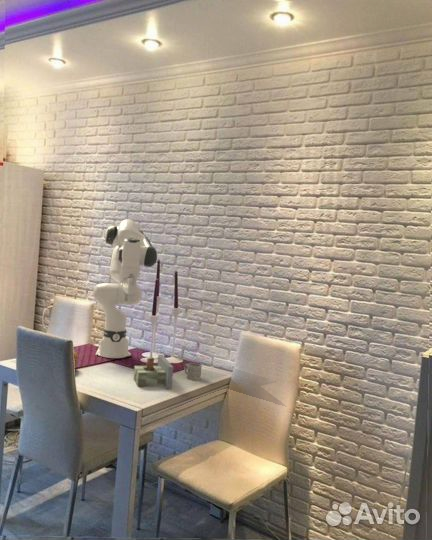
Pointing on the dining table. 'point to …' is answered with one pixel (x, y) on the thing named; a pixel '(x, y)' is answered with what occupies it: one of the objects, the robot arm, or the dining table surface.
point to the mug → (193, 371)
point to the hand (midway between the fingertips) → (127, 302)
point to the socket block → (149, 376)
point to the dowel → (150, 364)
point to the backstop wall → (166, 371)
